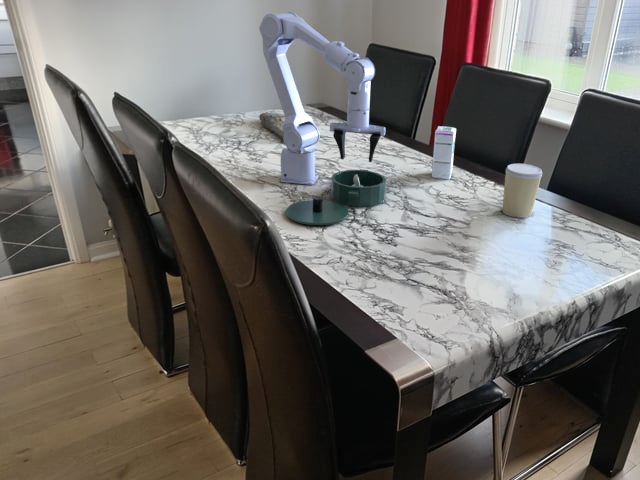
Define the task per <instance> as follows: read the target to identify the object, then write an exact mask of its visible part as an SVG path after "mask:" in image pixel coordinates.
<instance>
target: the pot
mask: <svg viewBox="0 0 640 480" xmlns="http://www.w3.org/2000/svg"><path fill="white" fill-rule="evenodd" d="M356 174H357V175H358V178H359V183H360V185H362V186H364V187H356V186H352V185H354V181H353V178H354V176H355V175H356ZM386 190H387V178H386V177H385V175H383V174H380V173H379V172H375V171H371V170H369V169H362V168H361V169H346V170H340V171H338V172H335V173H333V174H332V175H331V177H330V197H331V199H332V201H333V202H336V203H339V204H341V205H343V206H345V207H351V208H369V207H370V208H371V207H375V206H379V205H381V204H382V203H384V201H385V199H386V194H387V193H386V192H387V191H386Z"/></svg>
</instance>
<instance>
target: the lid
mask: <svg viewBox="0 0 640 480" xmlns="http://www.w3.org/2000/svg"><path fill="white" fill-rule="evenodd" d="M349 214H350V211H349V209H348V207H347V206H345V205H341V204H339V203H337V202H335V201H333V200H332V201H331V200H327V199H326V200H324V199H323V197H322V196H319V195H315V196H313V197H312V199H307V200H302V201H297V202H295V203H292V204H290V205H289V206H288V207H287V208H286V210H285V215H286V216H287V218H288V219H290V220H291V221H293V222H296V223H299V224H303V225H309V226H310V225H311V226H327V225H333V224H334V225H335V224H338V223H340V222H343V221H344V220H346V219H347V218H348V217H349Z"/></svg>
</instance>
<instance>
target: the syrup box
mask: <svg viewBox="0 0 640 480" xmlns="http://www.w3.org/2000/svg"><path fill="white" fill-rule="evenodd" d="M456 134H457V128H456V127H453V126H443V125H442V126H440V125H438V126H437V128H436V129H435V132H434V141H433V142H434V143H433V154H432V156H433V157H432V167H431V178H433V179H439V180H440V179H441V180H450V179H451V177H452V174H453V165H454V154H455V146H456V145H455V144H456Z"/></svg>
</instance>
